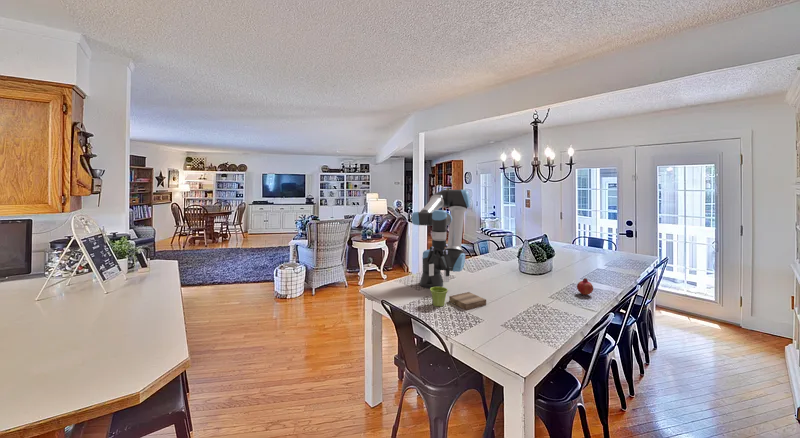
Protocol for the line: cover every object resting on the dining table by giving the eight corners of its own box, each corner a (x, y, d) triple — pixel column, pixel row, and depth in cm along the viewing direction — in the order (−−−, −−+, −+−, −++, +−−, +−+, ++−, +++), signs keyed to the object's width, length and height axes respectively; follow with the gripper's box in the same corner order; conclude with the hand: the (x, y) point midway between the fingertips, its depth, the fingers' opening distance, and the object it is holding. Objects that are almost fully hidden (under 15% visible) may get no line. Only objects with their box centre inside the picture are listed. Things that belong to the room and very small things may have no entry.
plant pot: (437, 300, 176) (437, 285, 175) (450, 304, 169) (451, 289, 168) (426, 304, 169) (426, 289, 168) (440, 309, 162) (440, 293, 161)
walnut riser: (449, 301, 174) (449, 296, 173) (468, 296, 180) (468, 291, 180) (466, 310, 161) (466, 304, 161) (486, 304, 168) (486, 299, 168)
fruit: (594, 297, 178) (596, 280, 177) (579, 296, 180) (580, 279, 178) (589, 292, 186) (590, 276, 185) (574, 292, 187) (575, 275, 186)
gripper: (420, 236, 174) (420, 274, 176) (447, 243, 152) (447, 286, 154) (431, 235, 178) (431, 272, 180) (460, 242, 156) (459, 283, 158)
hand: (438, 278), depth 167 cm, fingers open, 13 cm apart
